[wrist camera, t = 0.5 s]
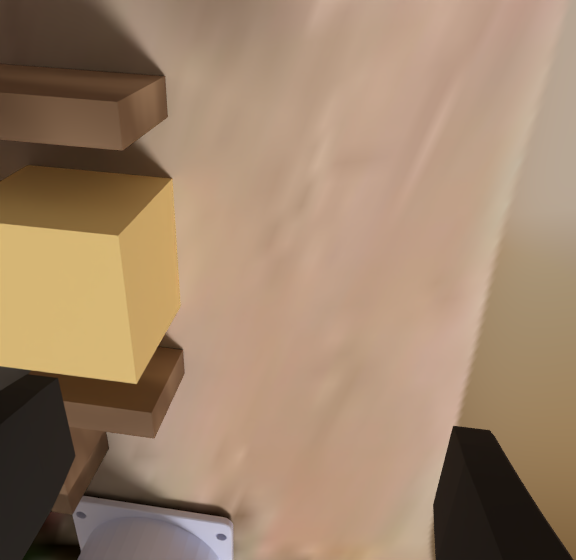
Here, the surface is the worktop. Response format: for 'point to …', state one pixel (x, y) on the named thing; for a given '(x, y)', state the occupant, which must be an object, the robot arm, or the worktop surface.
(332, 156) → the worktop surface
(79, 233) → the ochre block
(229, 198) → the worktop surface
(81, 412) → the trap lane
